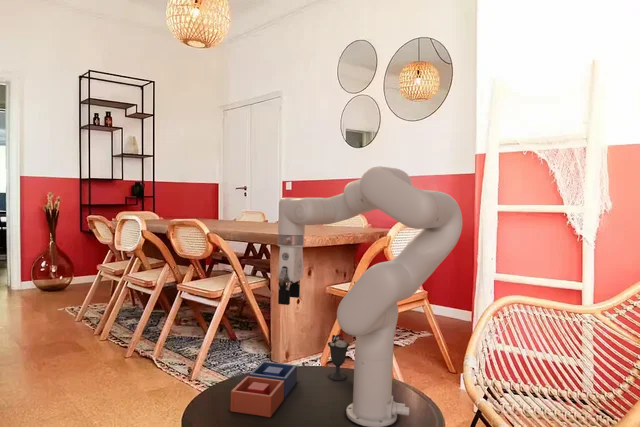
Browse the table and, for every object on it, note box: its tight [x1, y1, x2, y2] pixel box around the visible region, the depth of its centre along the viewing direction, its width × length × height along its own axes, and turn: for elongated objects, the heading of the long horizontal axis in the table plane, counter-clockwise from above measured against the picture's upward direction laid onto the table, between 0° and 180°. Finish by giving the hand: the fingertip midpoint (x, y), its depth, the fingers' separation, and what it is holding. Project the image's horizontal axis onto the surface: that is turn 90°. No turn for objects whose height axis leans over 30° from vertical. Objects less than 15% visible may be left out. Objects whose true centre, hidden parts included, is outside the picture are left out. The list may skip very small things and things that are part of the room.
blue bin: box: [248, 360, 298, 398], centre depth 133 cm, size 11×11×5 cm
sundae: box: [327, 330, 351, 381], centre depth 141 cm, size 7×7×15 cm
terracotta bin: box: [230, 375, 285, 418], centre depth 121 cm, size 11×11×5 cm
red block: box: [247, 382, 269, 395], centre depth 121 cm, size 4×4×4 cm
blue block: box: [264, 366, 283, 377], centre depth 133 cm, size 4×4×4 cm
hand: (289, 300), depth 134 cm, fingers open, 9 cm apart
